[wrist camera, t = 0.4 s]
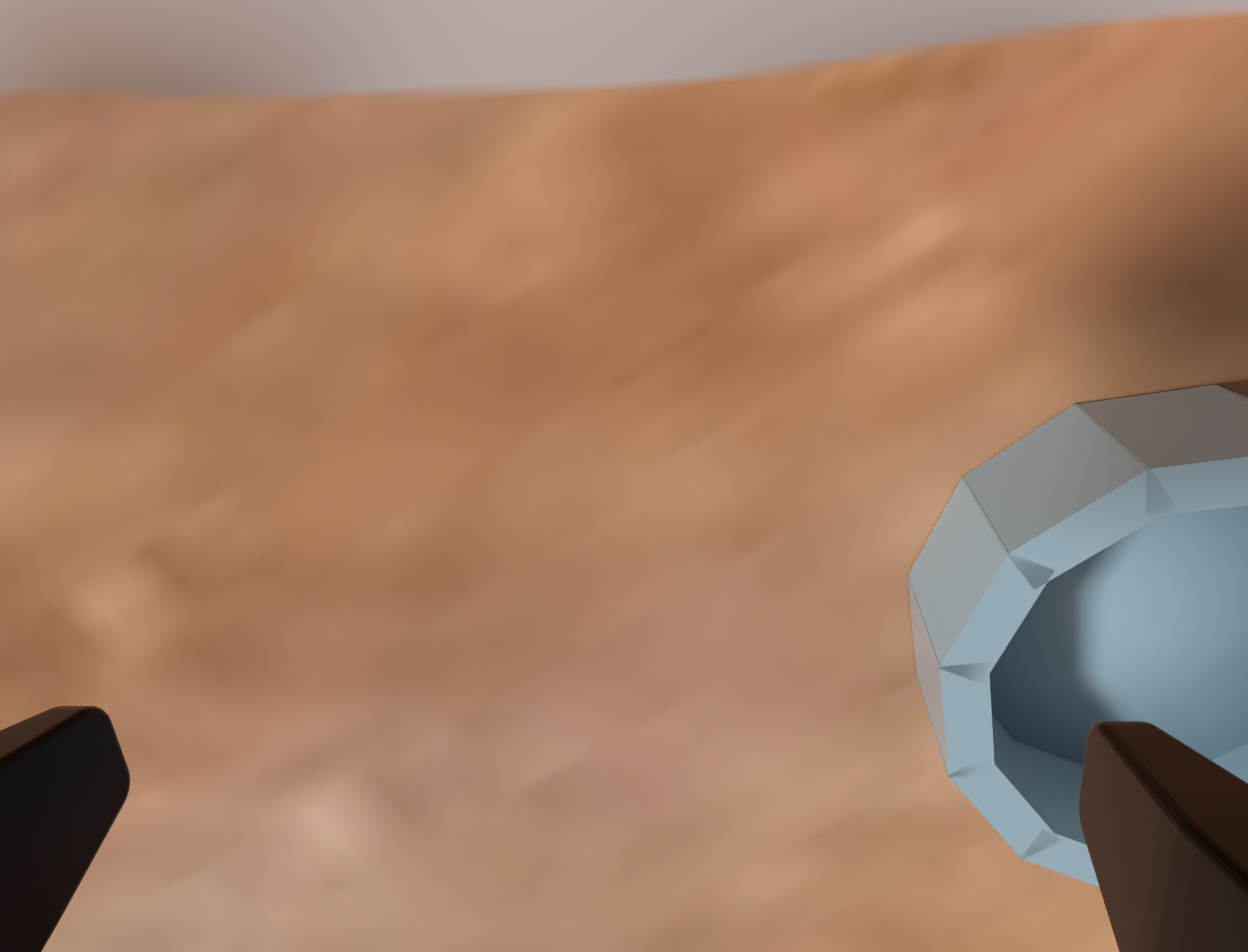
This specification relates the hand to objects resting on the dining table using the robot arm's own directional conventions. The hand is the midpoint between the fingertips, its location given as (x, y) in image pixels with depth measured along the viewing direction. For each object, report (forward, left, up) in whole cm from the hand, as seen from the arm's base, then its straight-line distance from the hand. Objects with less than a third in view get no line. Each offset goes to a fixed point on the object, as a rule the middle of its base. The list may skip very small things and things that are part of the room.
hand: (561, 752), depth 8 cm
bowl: (-8, -10, -14) cm, 19 cm away
